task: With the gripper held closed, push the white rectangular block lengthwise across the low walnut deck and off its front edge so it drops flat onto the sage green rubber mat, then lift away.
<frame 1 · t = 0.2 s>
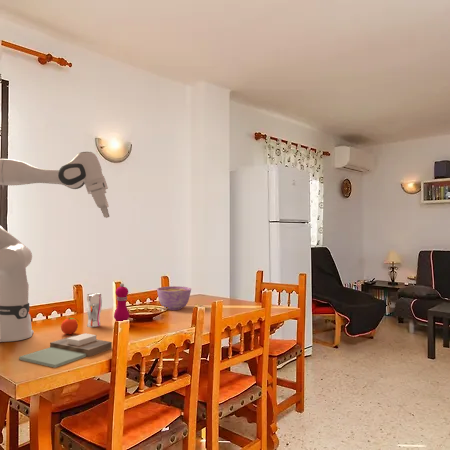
hand: (107, 217, 185), 51 cm above the table, tool tilted 20°, fingers open, 8 cm apart
pepper mill: (121, 325, 201), on the table
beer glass: (93, 326, 198), on the table
tomato: (70, 334, 183), on the table
white rectangular block: (82, 341, 162), point 2 cm above the table, touching deck
deck: (81, 348, 161), on the table
bowl of food: (173, 309, 242), on the table
mat: (53, 357, 150), on the table
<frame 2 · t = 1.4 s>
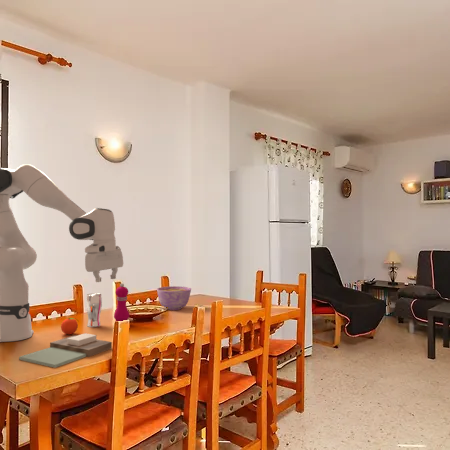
hand: (106, 280, 172), 25 cm above the table, tool pointing down, fingers open, 8 cm apart
nothing on the table moved.
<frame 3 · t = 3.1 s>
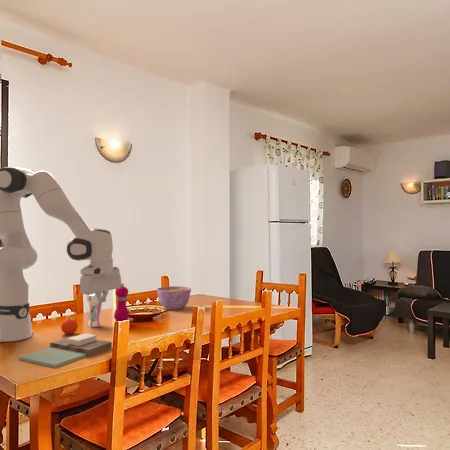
hand: (101, 302, 170), 16 cm above the table, tool pointing down, fingers closed
nothing on the table moved.
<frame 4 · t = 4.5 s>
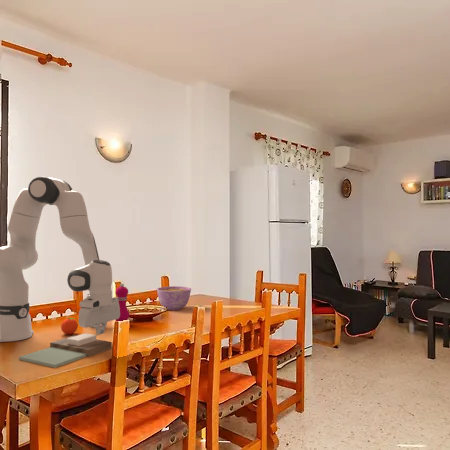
hand: (100, 334, 170), 3 cm above the table, tool pointing down, fingers closed
nothing on the table moved.
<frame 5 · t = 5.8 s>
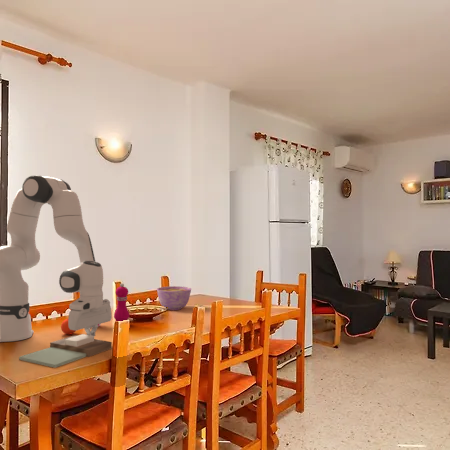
hand: (91, 336, 166), 3 cm above the table, tool pointing down, fingers closed
white rectangular block: (79, 342, 160), point 2 cm above the table, touching deck, gripper
everything else where it was.
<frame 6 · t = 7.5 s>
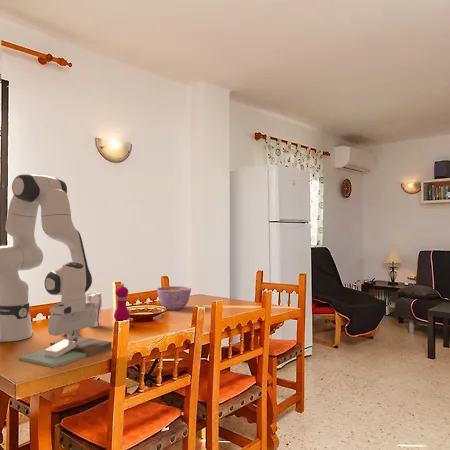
hand: (73, 342, 158), 3 cm above the table, tool pointing down, fingers closed
white rectangular block: (61, 350, 152), point 2 cm above the table, tilted 10°, touching deck
everything else where it was.
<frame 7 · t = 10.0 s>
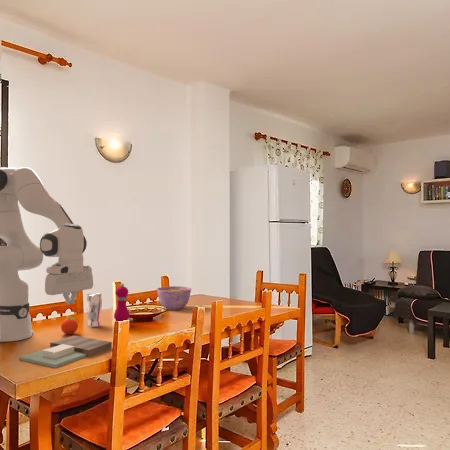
hand: (70, 303, 156), 18 cm above the table, tool pointing down, fingers closed
white rectangular block: (58, 353, 151), point 1 cm above the table, touching mat
everything else where it was.
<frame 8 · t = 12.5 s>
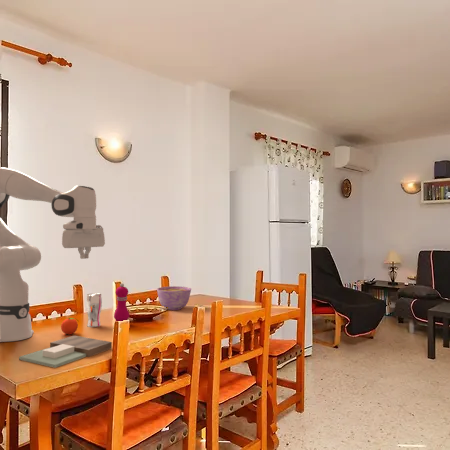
hand: (84, 258, 172), 34 cm above the table, tool pointing down, fingers closed
nothing on the table moved.
at the end: white rectangular block inside the target area (2.1 cm from its centre), point 1.0 cm above the table; white rectangular block point 1.0 cm above the table; white rectangular block tilted 0° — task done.
